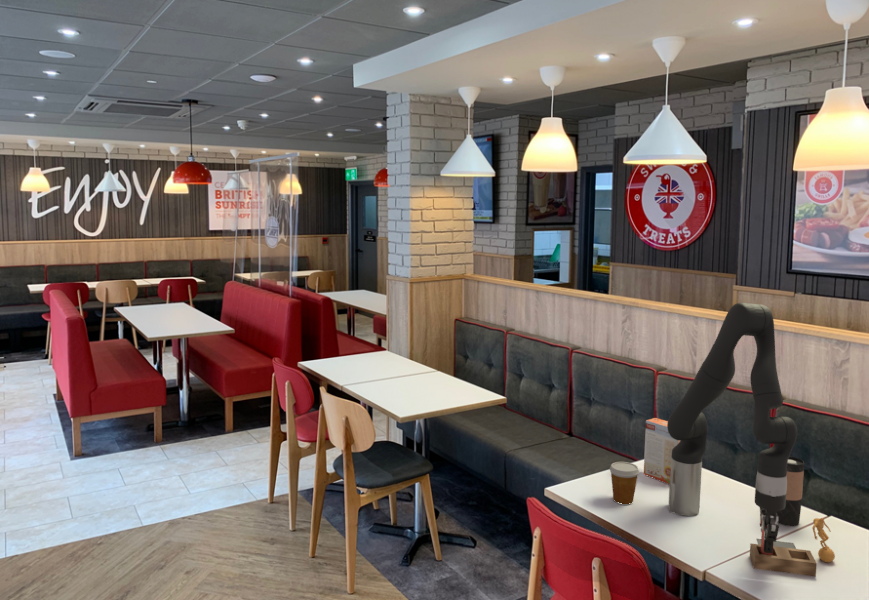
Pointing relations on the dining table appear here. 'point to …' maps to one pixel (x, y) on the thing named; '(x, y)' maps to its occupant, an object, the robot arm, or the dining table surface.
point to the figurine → (823, 541)
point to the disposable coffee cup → (623, 481)
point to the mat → (780, 544)
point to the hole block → (784, 560)
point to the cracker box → (658, 450)
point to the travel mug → (792, 493)
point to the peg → (763, 545)
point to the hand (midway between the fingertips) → (766, 548)
